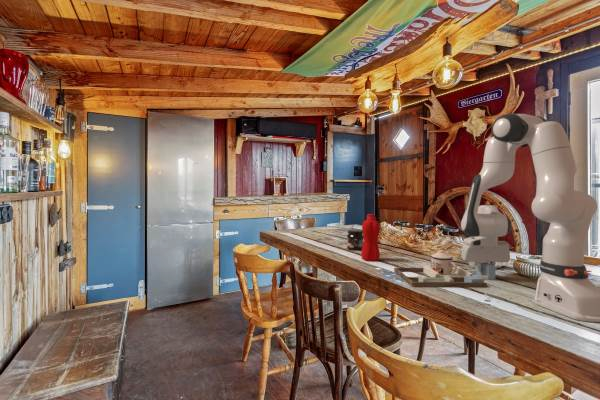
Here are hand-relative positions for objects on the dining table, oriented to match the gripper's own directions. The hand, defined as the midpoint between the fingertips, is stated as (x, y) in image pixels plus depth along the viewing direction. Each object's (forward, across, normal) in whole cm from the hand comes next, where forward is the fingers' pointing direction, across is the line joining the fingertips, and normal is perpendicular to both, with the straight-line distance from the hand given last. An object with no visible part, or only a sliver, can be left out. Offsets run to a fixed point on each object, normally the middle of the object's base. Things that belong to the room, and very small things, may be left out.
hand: (485, 271), depth 142 cm
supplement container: (+2, +47, -61) cm, 77 cm away
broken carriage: (+2, +21, +11) cm, 24 cm away
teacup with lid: (+2, +19, 0) cm, 19 cm away
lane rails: (+2, +23, +4) cm, 23 cm away
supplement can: (+2, -7, -17) cm, 18 cm away
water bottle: (+2, +43, -32) cm, 54 cm away
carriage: (+2, +12, 0) cm, 12 cm away
